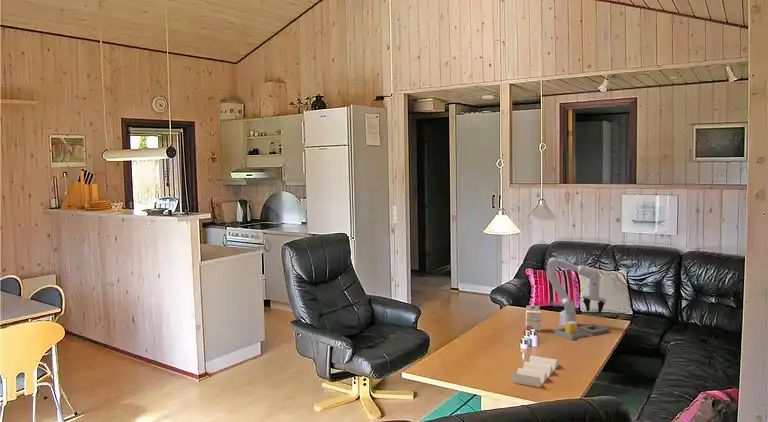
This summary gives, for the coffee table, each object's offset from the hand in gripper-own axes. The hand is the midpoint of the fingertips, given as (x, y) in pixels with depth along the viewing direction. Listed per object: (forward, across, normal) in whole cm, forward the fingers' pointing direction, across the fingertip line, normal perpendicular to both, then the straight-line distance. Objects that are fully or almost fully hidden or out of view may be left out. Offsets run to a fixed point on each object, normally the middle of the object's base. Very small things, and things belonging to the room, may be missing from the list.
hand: (593, 312), depth 370 cm
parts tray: (+10, -1, -24) cm, 26 cm away
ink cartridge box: (+10, -24, -30) cm, 39 cm away
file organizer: (+11, +20, -93) cm, 96 cm away
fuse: (+9, -1, -24) cm, 26 cm away
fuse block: (+10, +5, -10) cm, 15 cm away
